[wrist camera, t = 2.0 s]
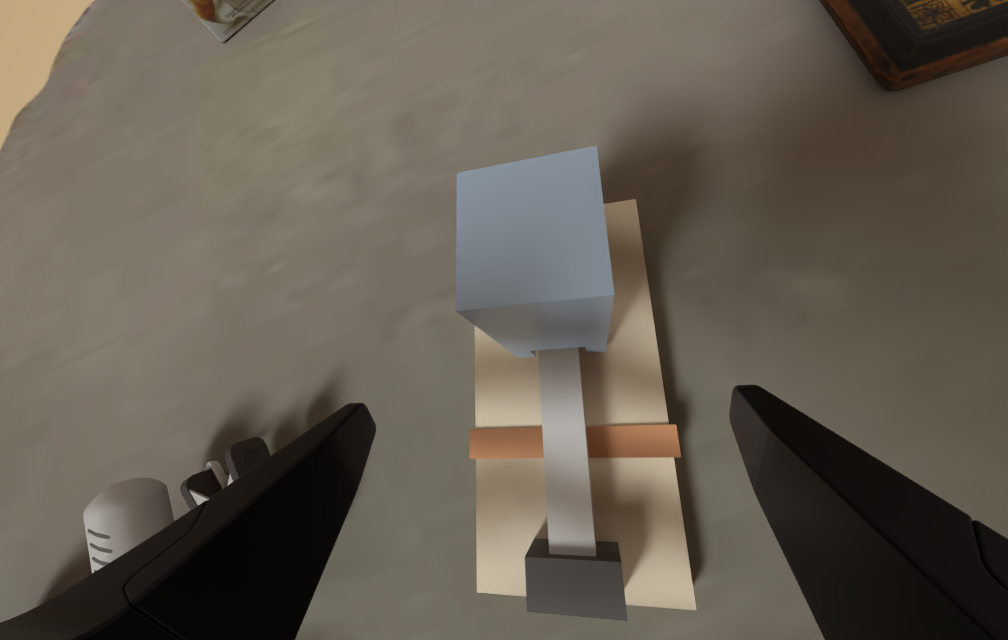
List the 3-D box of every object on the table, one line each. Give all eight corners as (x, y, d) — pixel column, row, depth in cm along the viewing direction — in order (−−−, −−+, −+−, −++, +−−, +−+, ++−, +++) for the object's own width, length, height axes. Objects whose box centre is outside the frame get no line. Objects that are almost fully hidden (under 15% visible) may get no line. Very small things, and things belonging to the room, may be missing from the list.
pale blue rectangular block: (605, 351, 19) (614, 294, 10) (517, 357, 20) (456, 311, 11) (596, 263, 20) (596, 145, 11) (514, 273, 21) (456, 172, 12)
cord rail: (694, 594, 17) (723, 645, 13) (480, 578, 19) (452, 618, 16) (638, 211, 22) (646, 170, 19) (476, 236, 25) (455, 204, 21)
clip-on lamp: (363, 718, 22) (294, 425, 23) (292, 873, 15) (204, 454, 17) (187, 761, 22) (133, 473, 24) (48, 926, 16) (-11, 519, 18)
